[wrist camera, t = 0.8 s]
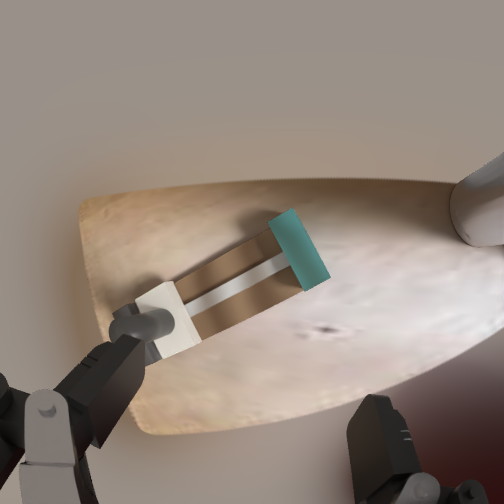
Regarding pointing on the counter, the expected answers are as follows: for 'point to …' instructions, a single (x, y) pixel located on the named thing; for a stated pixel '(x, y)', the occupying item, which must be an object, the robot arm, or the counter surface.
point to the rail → (246, 279)
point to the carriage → (159, 321)
